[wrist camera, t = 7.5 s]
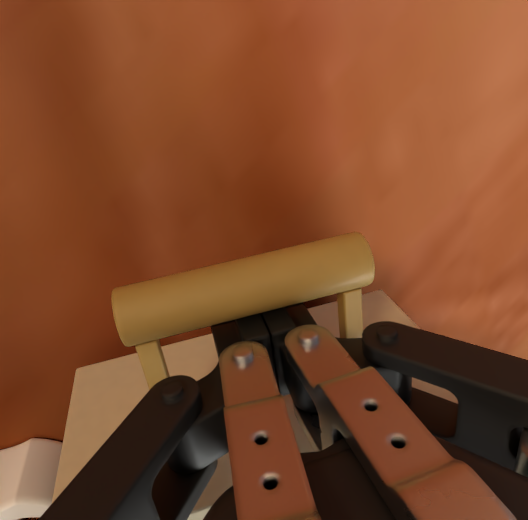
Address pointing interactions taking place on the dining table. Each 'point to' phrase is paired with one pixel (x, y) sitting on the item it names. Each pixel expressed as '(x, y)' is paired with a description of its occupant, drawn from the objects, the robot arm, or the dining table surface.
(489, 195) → the dining table surface
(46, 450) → the white perforated trivet
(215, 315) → the drawer
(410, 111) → the dining table surface
